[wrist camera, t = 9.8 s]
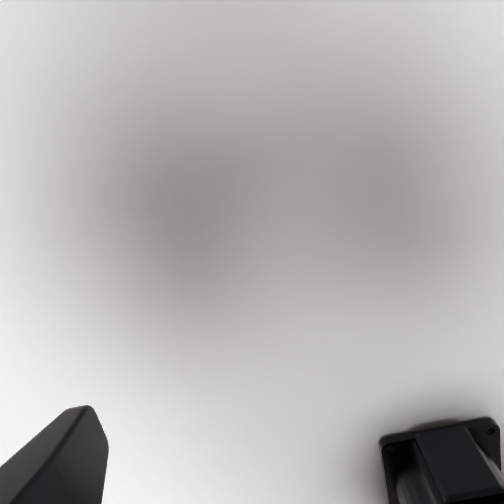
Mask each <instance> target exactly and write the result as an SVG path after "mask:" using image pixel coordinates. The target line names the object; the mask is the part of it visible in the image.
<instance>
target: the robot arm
mask: <svg viewBox="0 0 504 504" xmlns="http://www.w3.org/2000/svg"><path fill="white" fill-rule="evenodd" d="M488 428H489V429H488ZM389 446H391V447H389ZM387 447H389V448H387ZM379 448H380V454H381V461H382V467H383V474H384V480H385V487H386V493H387V500H388V504H504V476H503V475H502V473H501V455H500V428H499V426H498V425H497V423H496V422H495V421H494V420H492V419H483V420H478V421H473V422H467V423H462V424H456V425H451V426H446V427H440V428H435V429H429V430H424V431H419V432H413V433H408V434H402V435H397V436H392V437H387V438H384V439H382V440H381V441H380V443H379ZM108 452H109V447H108V441H107V438H106V435H105V433H104V431H103V428H102V426H101V424H100V421H99V419H98V417H97V415H96V412H95V410H94V409H93V408H92V407H91V406H89V405H84V406H79V407H74V408H69V409H67V410H65V411H64V412H63V413H61V414H60V415H59V416H58V417H57V418H56V419H55V420H53V421H52V422H51V423H50V424H49V425H48V426H47V427H45V428H44V429H43V430H42V431H41V432H40V433H39V434H37V435H36V436H35V437H34V438H33V439H32V440H31V441H29V442H28V443H27V444H26V445H25V446H24V447H23V448H21V449H20V450H19V451H18V452H17V453H16V454H15V455H13V456H12V457H11V458H10V459H9V460H8V461H7V462H5V463H4V464H3V465H2V466H1V467H0V504H101V503H102V496H103V489H104V482H105V475H106V467H107V460H108Z"/></svg>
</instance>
